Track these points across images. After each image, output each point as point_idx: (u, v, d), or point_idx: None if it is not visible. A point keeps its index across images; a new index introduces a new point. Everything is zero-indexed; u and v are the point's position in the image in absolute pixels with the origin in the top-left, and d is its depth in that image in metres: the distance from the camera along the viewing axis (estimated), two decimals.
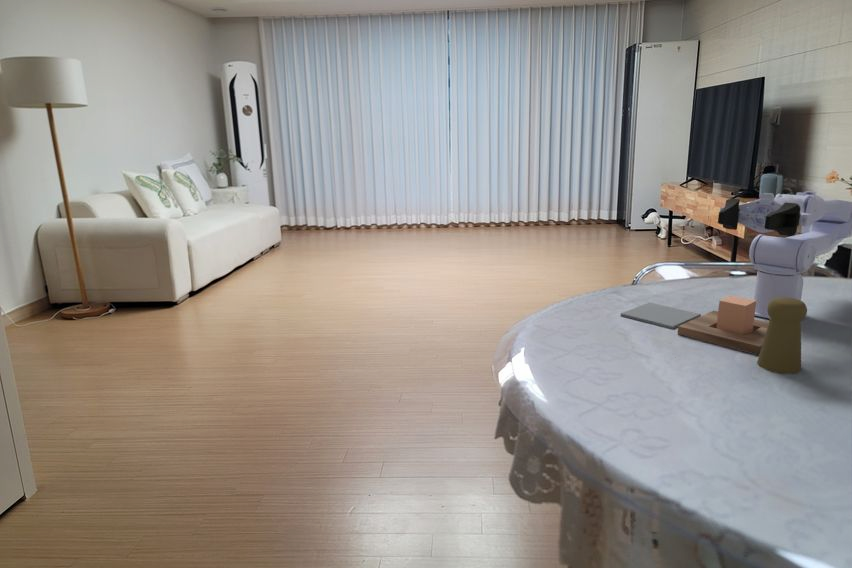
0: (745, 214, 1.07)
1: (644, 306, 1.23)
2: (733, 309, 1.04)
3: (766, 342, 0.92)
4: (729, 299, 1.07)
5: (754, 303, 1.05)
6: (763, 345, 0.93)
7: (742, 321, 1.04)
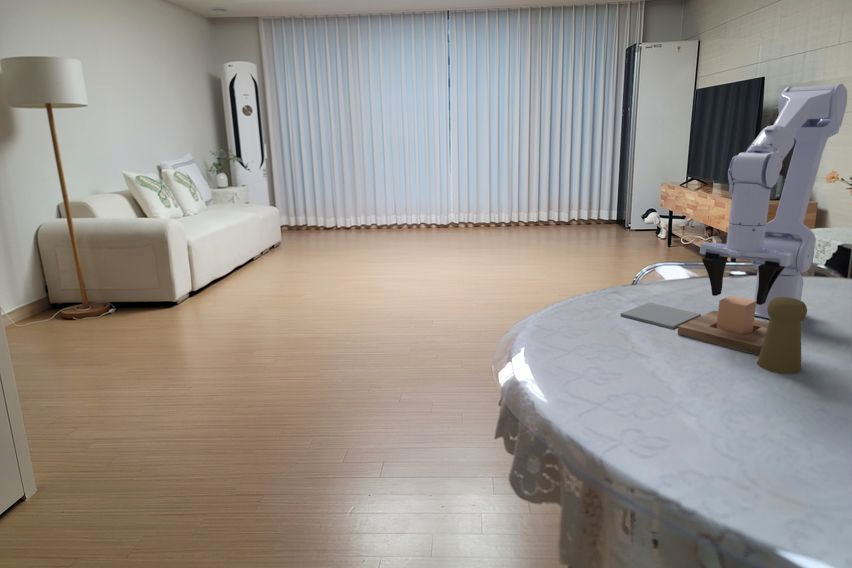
0: (727, 256, 1.06)
1: (644, 306, 1.23)
2: (733, 309, 1.04)
3: (766, 342, 0.92)
4: (729, 299, 1.07)
5: (754, 303, 1.05)
6: (763, 345, 0.93)
7: (742, 321, 1.04)
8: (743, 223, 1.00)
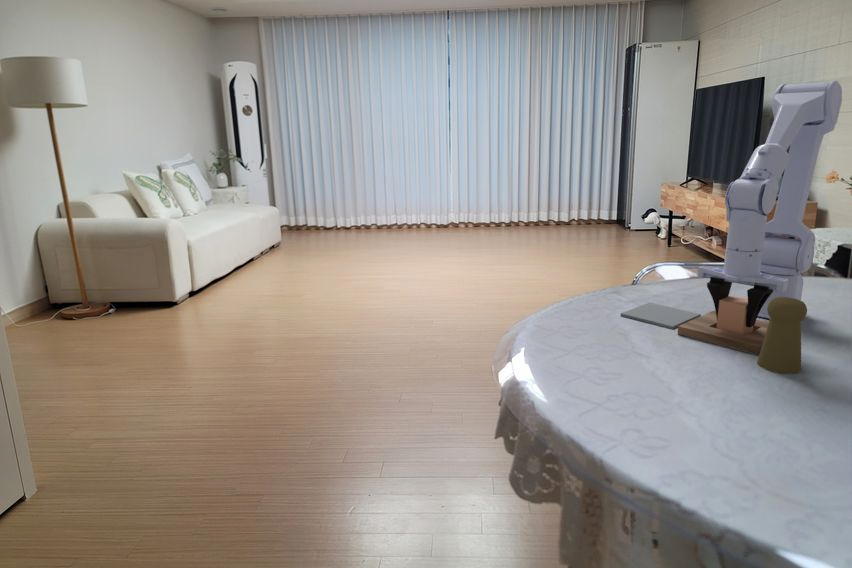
0: (724, 280, 1.07)
1: (644, 306, 1.23)
2: (733, 308, 1.04)
3: (766, 342, 0.92)
4: (729, 299, 1.07)
5: None
6: (763, 345, 0.93)
7: (742, 321, 1.04)
8: (740, 249, 1.01)
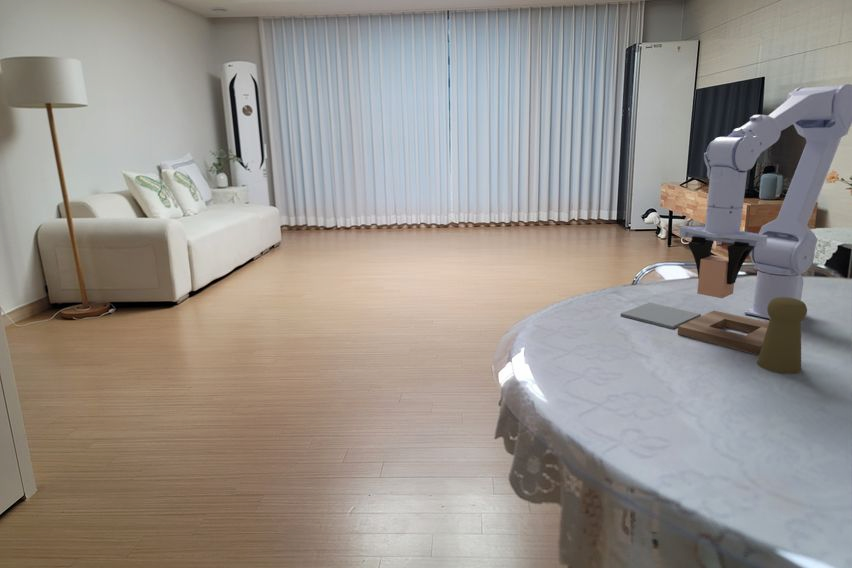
0: None
1: (644, 306, 1.23)
2: (714, 266, 1.06)
3: (766, 342, 0.92)
4: (710, 258, 1.08)
5: None
6: (763, 345, 0.93)
7: (723, 278, 1.05)
8: (716, 205, 1.03)
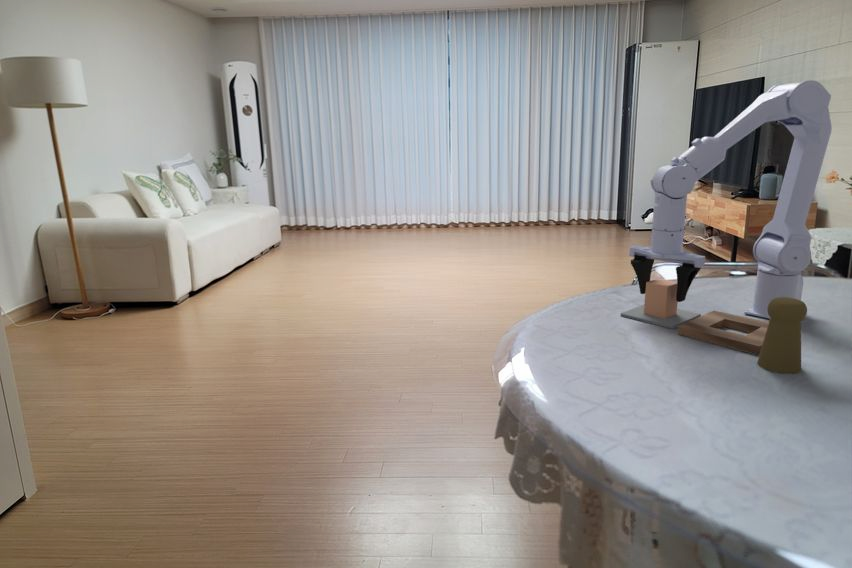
0: (652, 258, 1.18)
1: None
2: (657, 289, 1.15)
3: (766, 342, 0.92)
4: (655, 281, 1.17)
5: None
6: (763, 345, 0.93)
7: (665, 300, 1.14)
8: (654, 227, 1.13)
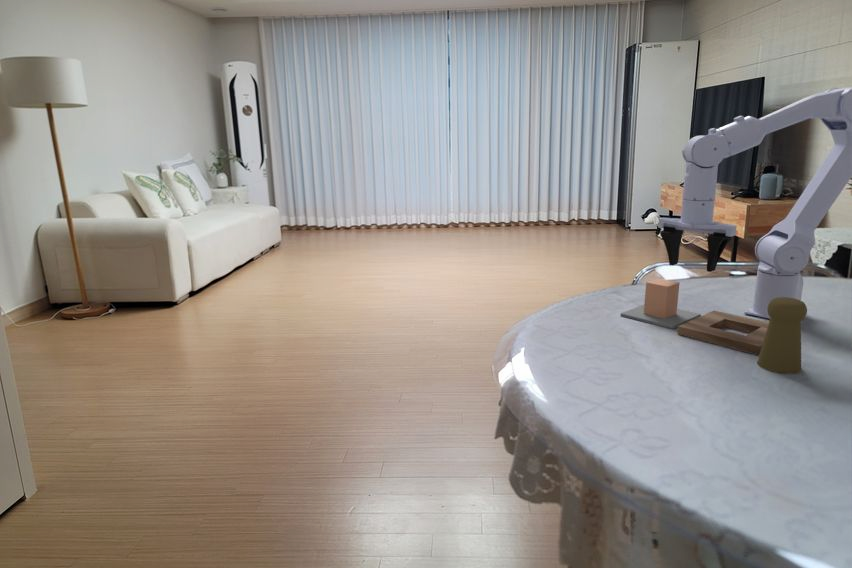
0: (682, 229, 1.18)
1: None
2: (657, 289, 1.15)
3: (766, 342, 0.92)
4: (655, 281, 1.17)
5: (677, 284, 1.16)
6: (763, 345, 0.93)
7: (665, 300, 1.14)
8: (684, 197, 1.14)
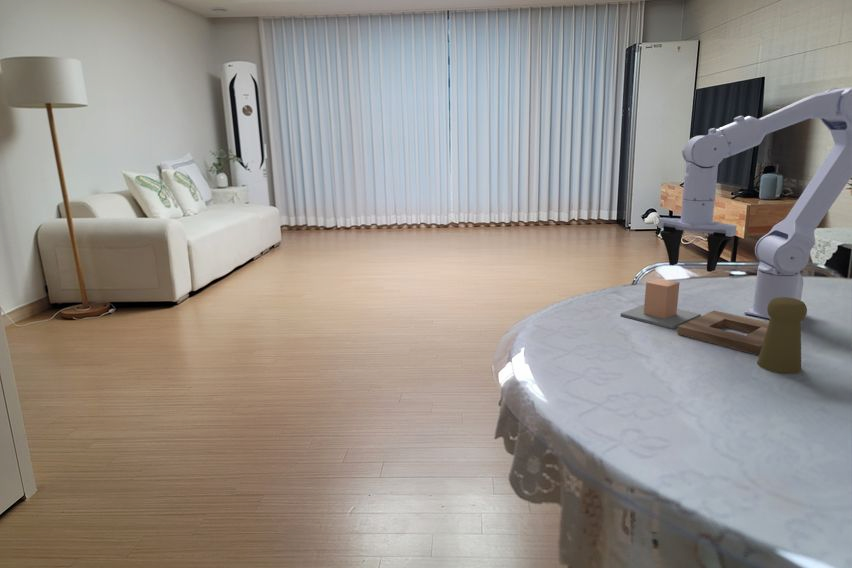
0: (682, 229, 1.18)
1: None
2: (657, 289, 1.15)
3: (766, 342, 0.92)
4: (655, 281, 1.17)
5: (677, 284, 1.16)
6: (763, 345, 0.93)
7: (665, 300, 1.14)
8: (684, 197, 1.14)
